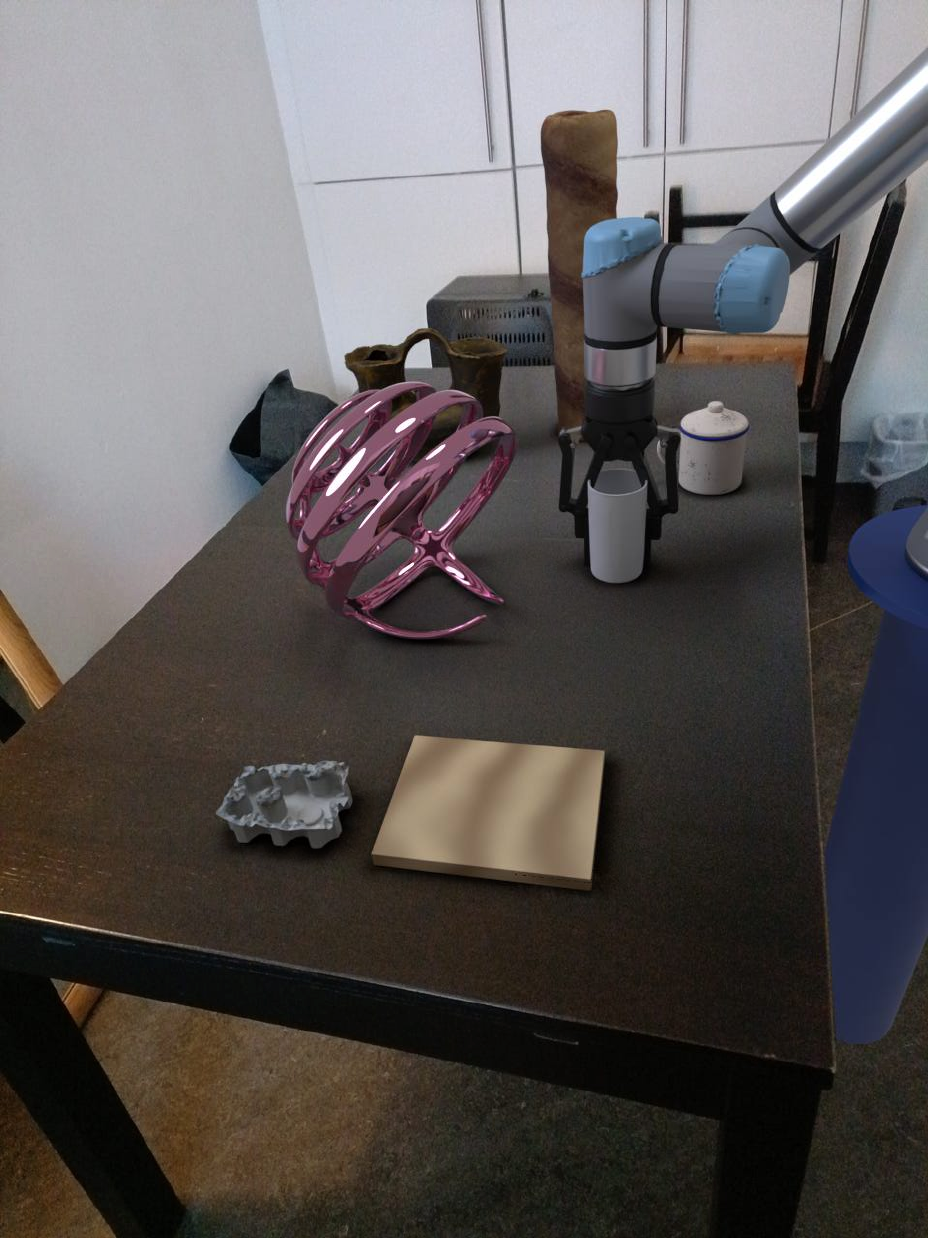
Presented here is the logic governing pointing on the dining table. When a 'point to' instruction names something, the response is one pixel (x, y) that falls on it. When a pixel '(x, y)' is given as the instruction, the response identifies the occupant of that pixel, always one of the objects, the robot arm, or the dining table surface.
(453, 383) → the pottery vessel
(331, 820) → the egg carton
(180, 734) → the dining table surface
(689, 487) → the teacup with lid
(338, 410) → the spiral basket
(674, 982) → the dining table surface
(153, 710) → the dining table surface
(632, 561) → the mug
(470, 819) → the board
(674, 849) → the dining table surface
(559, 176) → the wafer roll
